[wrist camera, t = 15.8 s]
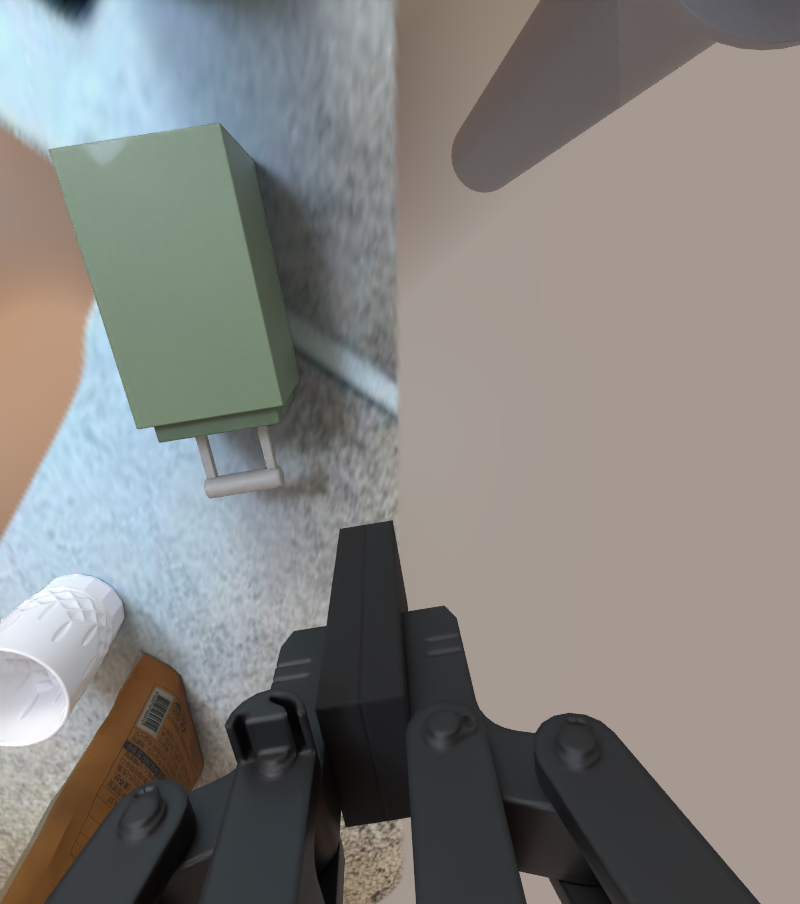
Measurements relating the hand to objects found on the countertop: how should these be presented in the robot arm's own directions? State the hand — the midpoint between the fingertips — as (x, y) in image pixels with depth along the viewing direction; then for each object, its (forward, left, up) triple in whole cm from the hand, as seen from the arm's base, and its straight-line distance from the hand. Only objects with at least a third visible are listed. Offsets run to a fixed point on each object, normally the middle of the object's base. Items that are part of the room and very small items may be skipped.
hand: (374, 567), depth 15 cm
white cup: (+26, +14, -26) cm, 39 cm away
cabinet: (+9, -9, -26) cm, 29 cm away
